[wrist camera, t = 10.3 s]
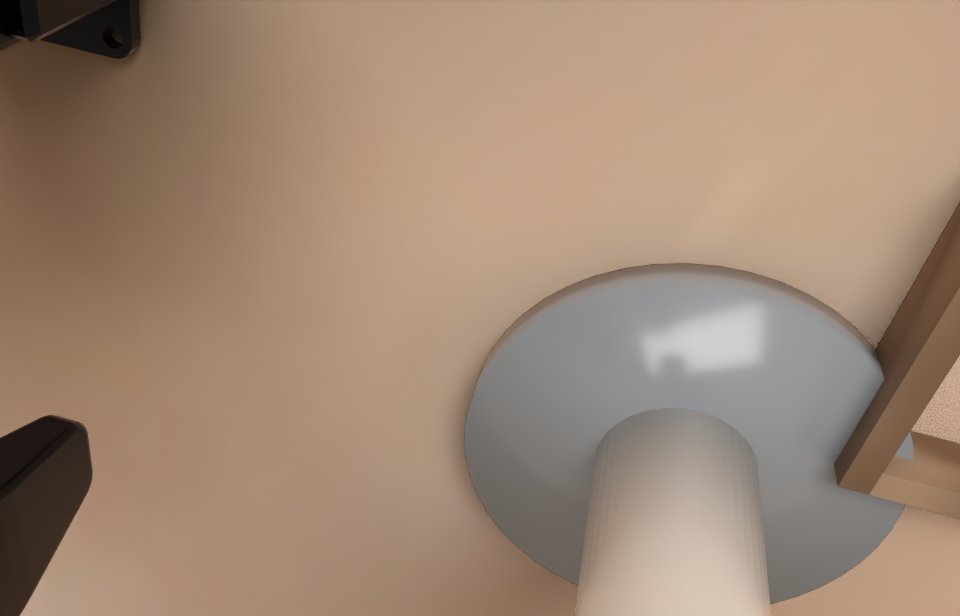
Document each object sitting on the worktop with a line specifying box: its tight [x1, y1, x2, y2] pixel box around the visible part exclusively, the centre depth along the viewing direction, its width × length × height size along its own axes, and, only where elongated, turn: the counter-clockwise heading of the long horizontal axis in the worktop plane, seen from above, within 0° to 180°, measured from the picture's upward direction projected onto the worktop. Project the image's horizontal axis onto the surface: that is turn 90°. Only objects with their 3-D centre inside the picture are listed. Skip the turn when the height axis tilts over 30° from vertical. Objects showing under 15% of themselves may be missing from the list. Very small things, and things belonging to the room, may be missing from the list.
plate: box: [464, 263, 914, 604], centre depth 25 cm, size 12×12×1 cm
